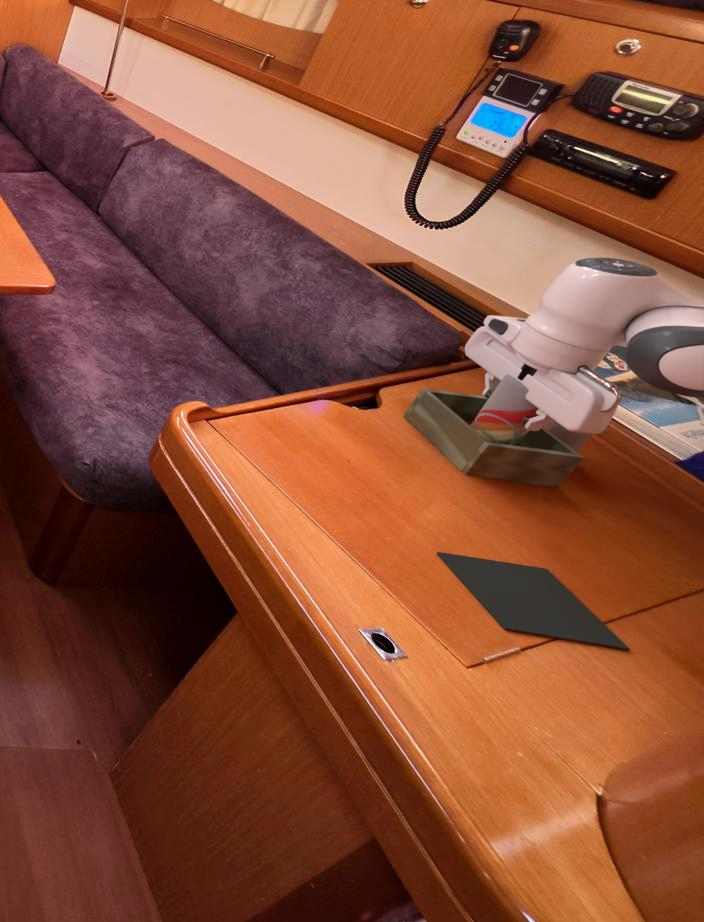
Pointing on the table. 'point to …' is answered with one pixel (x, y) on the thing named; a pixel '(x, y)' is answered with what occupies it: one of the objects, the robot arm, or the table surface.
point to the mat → (530, 601)
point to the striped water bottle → (506, 411)
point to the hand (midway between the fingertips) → (508, 412)
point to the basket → (451, 433)
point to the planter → (568, 435)
